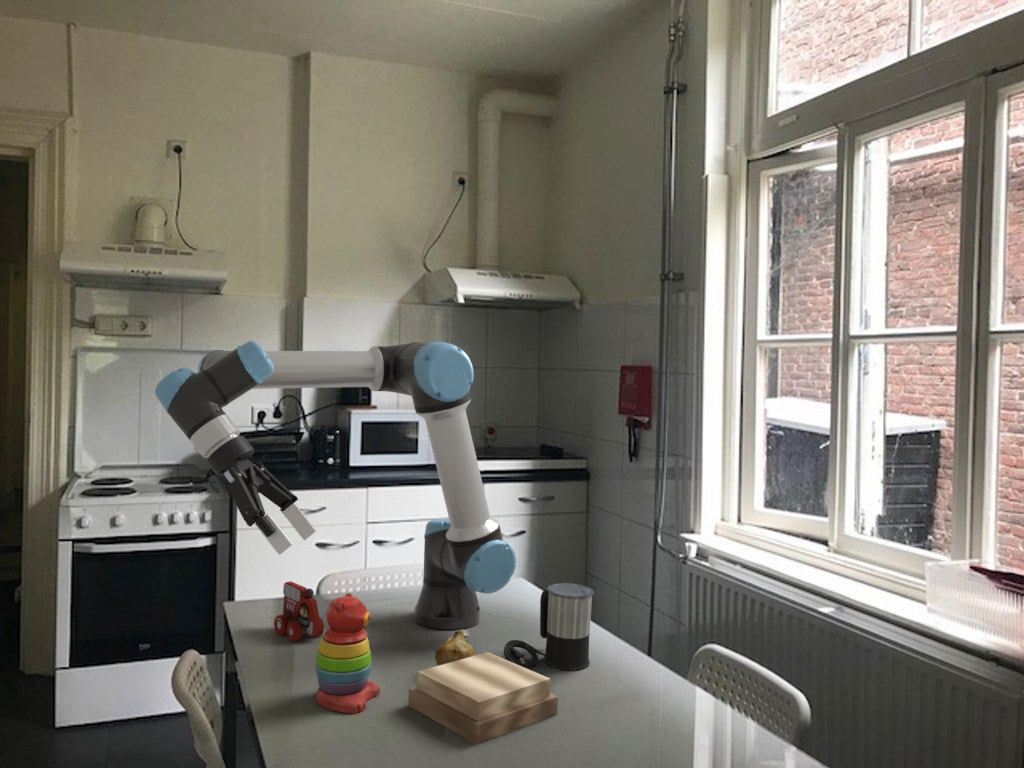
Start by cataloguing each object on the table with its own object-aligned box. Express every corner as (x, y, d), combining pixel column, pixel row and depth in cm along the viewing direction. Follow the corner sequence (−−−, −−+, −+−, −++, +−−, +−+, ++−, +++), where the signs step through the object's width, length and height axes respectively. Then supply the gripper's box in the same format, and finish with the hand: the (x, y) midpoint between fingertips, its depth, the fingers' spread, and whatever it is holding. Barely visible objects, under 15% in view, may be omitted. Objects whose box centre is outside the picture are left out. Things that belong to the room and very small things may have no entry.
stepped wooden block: (487, 681, 154) (488, 649, 154) (557, 714, 141) (558, 679, 141) (408, 705, 142) (409, 671, 142) (476, 744, 129) (478, 706, 128)
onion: (428, 667, 160) (430, 626, 160) (468, 663, 163) (469, 623, 163) (440, 682, 153) (442, 639, 153) (481, 677, 156) (483, 635, 156)
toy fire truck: (300, 646, 168) (302, 595, 168) (269, 630, 177) (271, 582, 177) (329, 639, 173) (331, 590, 173) (298, 624, 182) (300, 577, 182)
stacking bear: (360, 715, 137) (364, 608, 137) (303, 707, 139) (307, 602, 139) (383, 690, 148) (387, 591, 147) (329, 684, 150) (333, 586, 149)
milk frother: (599, 663, 166) (603, 590, 165) (548, 683, 154) (551, 604, 154) (545, 645, 176) (548, 575, 175) (493, 662, 164) (496, 588, 164)
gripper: (234, 455, 158) (304, 542, 157) (174, 466, 133) (256, 570, 132) (265, 430, 157) (334, 517, 156) (210, 437, 132) (292, 541, 131)
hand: (299, 542), depth 144 cm, fingers open, 13 cm apart
